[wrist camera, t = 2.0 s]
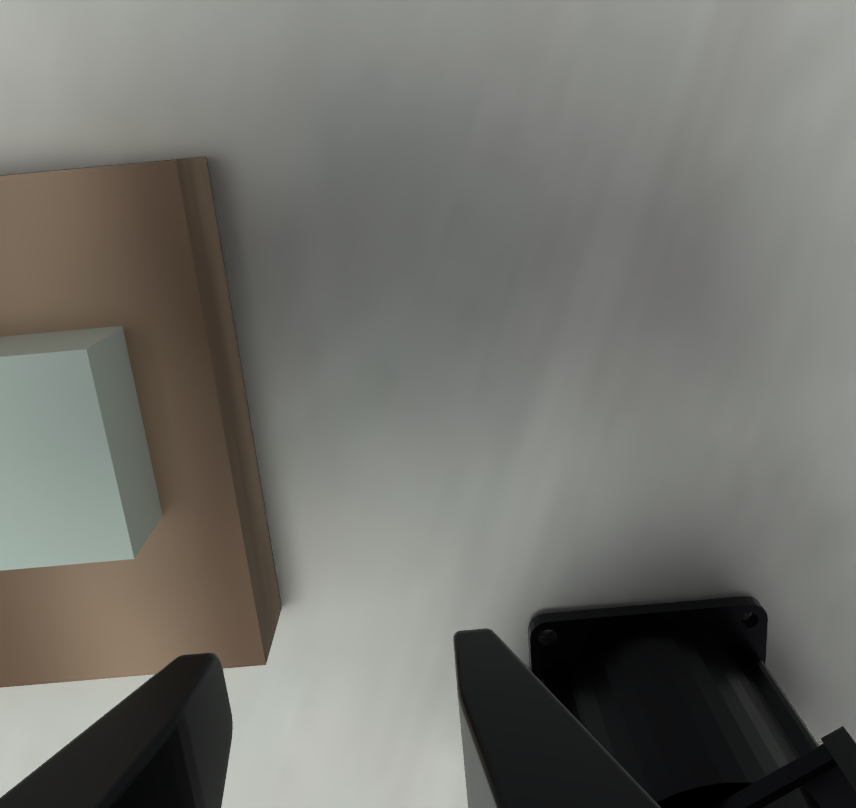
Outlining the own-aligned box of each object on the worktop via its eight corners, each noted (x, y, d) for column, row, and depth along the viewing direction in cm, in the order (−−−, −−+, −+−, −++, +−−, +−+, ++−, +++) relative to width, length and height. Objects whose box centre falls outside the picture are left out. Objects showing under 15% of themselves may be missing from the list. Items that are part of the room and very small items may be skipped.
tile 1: (122, 325, 17) (86, 349, 15) (162, 516, 19) (134, 558, 17) (-87, 344, 17) (-149, 370, 15) (-31, 532, 19) (-81, 577, 17)
